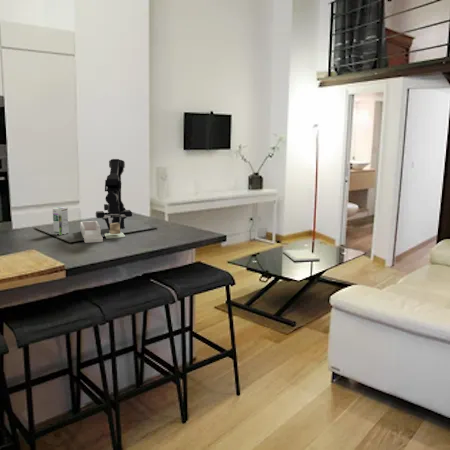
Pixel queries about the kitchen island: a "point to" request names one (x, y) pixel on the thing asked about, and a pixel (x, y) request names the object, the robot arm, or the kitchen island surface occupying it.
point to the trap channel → (91, 231)
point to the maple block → (114, 228)
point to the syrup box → (60, 220)
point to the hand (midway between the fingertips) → (114, 229)
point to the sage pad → (114, 235)
